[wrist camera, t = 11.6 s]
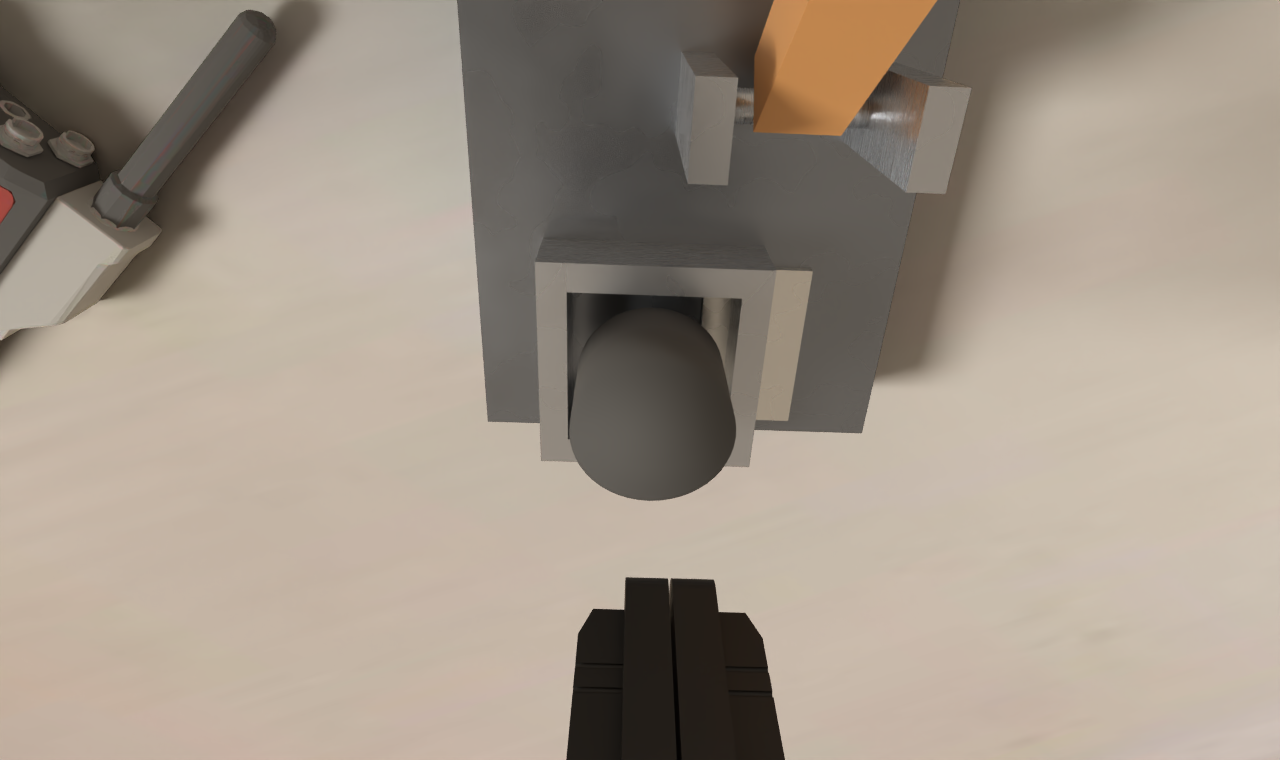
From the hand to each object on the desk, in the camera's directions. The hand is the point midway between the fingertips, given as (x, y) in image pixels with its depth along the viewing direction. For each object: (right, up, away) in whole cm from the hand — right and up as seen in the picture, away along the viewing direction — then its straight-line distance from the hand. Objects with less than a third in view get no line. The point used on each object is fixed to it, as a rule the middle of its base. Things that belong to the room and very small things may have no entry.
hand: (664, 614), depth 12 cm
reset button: (0, +4, +8) cm, 9 cm away
